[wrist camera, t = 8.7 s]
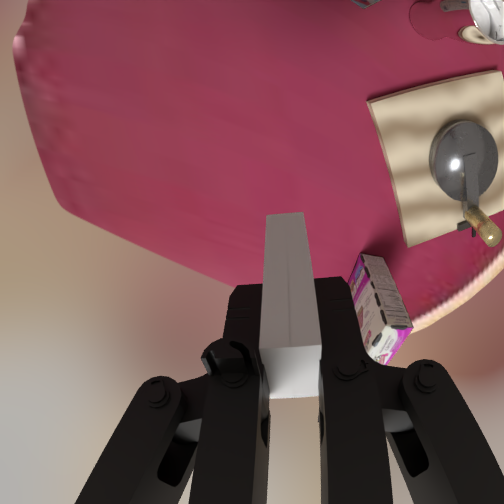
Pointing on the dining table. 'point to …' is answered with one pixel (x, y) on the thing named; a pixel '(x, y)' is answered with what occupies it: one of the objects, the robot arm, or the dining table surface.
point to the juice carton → (365, 3)
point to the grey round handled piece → (466, 171)
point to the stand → (419, 144)
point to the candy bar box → (378, 308)
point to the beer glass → (460, 20)
